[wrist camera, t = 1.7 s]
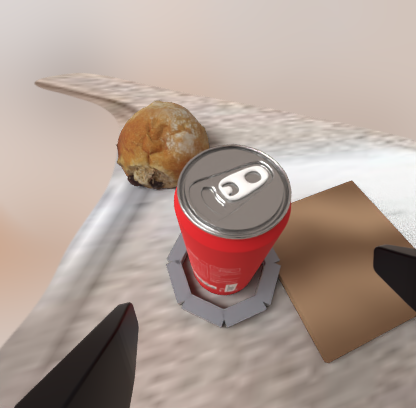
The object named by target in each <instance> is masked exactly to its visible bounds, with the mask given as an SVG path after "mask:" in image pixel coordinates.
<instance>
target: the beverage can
mask: <svg viewBox="0 0 416 408" xmlns="http://www.w3.org/2000/svg"><path fill="white" fill-rule="evenodd" d="M174 207H175V212H176V216H177V219H178V222H179V226H180V229H181V233H182V236H183V239H184V243H185V246H186V249H187V253H188V256H189V259H190V263H191V266H192V269H193V272H194V275H195V277H196V279H197V281H198V282H199V283H200V285H201V286H202V287H204V288H205V289H206V290H208V291H210V292H212V293H214V294H218V295H230V294H234V293H236V292H239V291H240V290H242V289H243V288H244V287H245V286H246V285H247V284H248V283H249V282H250V280H251V279H252V277H253V276H254V274H255V273H256V271H257V269H258V268H259V266H260V265H261V263H262V262H263V260H264V259H265V257H266V256H267V254H268V253H269V251H270V250H271V248H272V247H273V245H274V244H275V242H276V241H277V239H278V238H279V236H280V235H281V233H282V231H283V230H284V228H285V227H286V225H287V223H288V220H289V217H290V213H291V186H290V182H289V179H288V177H287V175H286V173H285V171H284V170H283V168H282V167H281V166H280V165H279V164H278V163H277V162H276V161H275V160H274V159H273V158H271V157H270V156H269V155H267V154H265V153H263V152H261V151H259V150H257V149H254V148H251V147H247V146H242V145H236V144H231V145H221V146H216V147H212V148H209V149H207V150H204V151H202V152H200V153H199V154H197V155H196V156H194V157H193V158H192V159H191V160H190V161H189V162H188V163H187V164H186V165H185V167H184V168H183V170H182V171H181V173H180V176H179V179H178V183H177V187H176V190H175V195H174Z"/></svg>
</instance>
